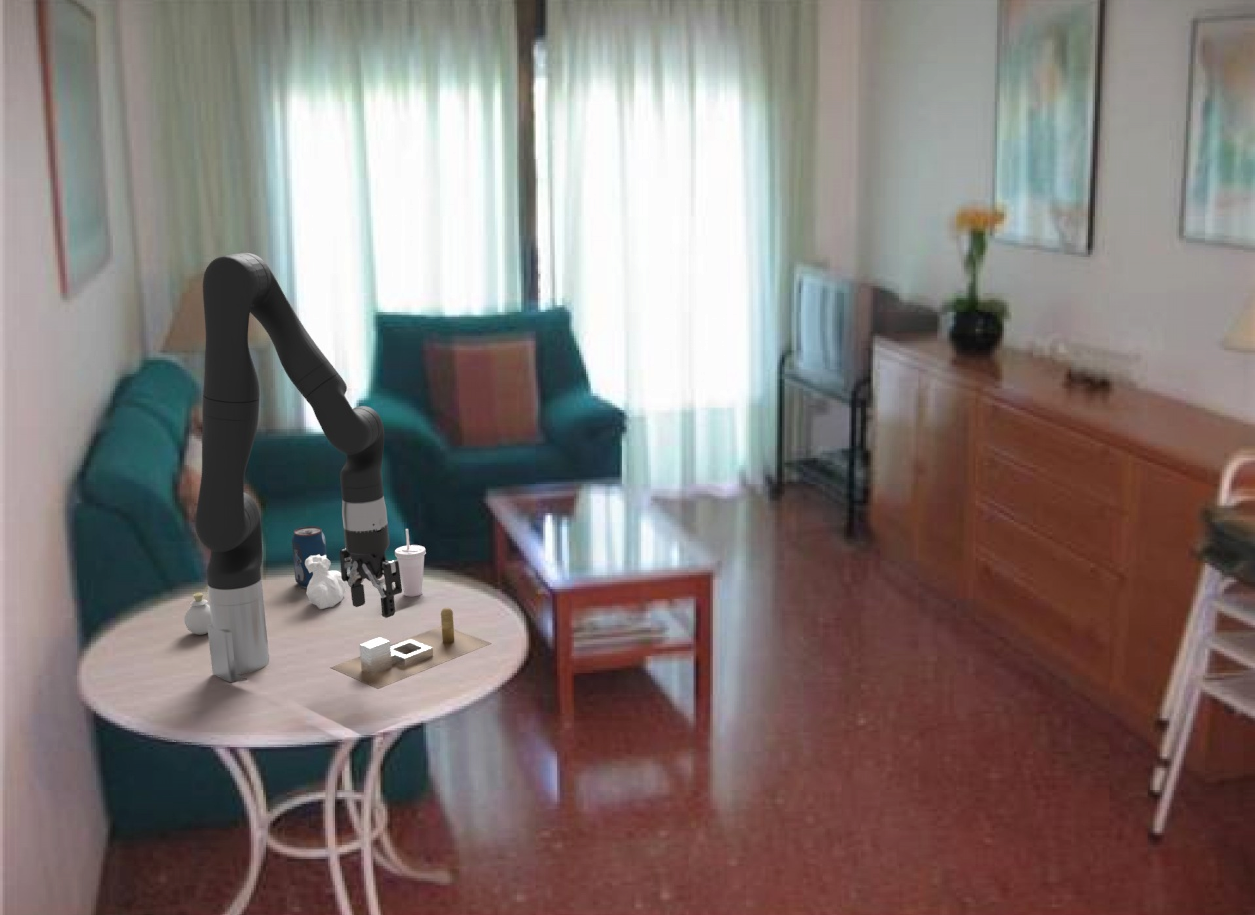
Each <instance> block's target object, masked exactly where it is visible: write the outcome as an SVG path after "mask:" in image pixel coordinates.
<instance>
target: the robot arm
mask: <svg viewBox="0 0 1255 915" xmlns="http://www.w3.org/2000/svg"><path fill="white" fill-rule="evenodd" d="M202 279H203V280H202V299H203V300H202V302H203V310H204V311H203V312H204V324H205V325H204V327H205V349H204V350H205V351H204V376H203V391H202V414H201V416H202V419H201V420H202V430H201V432H202V434H201V435H202V436H201V475H200V476H201V477H200V478H201V479H200V483H199V484H200V485H199V491H198V499H197V505H196V512H195V520H194V527H195V532H196V535H197V538H198V539H199V542H201V543H202V545H204V547H205V548H207V549H208V550H210V557H209V560H208V561H209V562H208V564H207V568H206V582H207V583H206V584H207V589H208V590H207V593H208V599H209V601H208V602H209V605H210V611H211V620H212V623H211V624H209V625H208V626H207V628H208V633H207V635H208V643H209V644H208V646H209V654H210V660H211V661H210V662H211V663H210V664H211V672H212V674H213V675H214V676H215V677H219V678H221V679H222V680H223V681H227V682H228V683H233V682H236V681H244V680H245V681H246V680H248V678H247V677H245V676H242V674H247V673H252V672H256V671H258V670H261V669H262V668H265V667H266V666H267V665H269V663H270V653H269V643H268V642H269V640H268V630H267V621H266V612H265V600H264V591H263V581H262V563H263V558H264V557H263V555H264V552H263V539H262V538H263V536H262V523H261V516H260V515H261V514H260V510H259V508H258V505H257V503H256V502H255V500H254V499H253V498H252V497H251V496H250V495H249V494H248V493H247V492H245V476H246V472H247V471H246V470H247V466H248V462H249V459H250V456H251V453H252V449H253V446H254V442H255V438H256V435H257V430H258V424H259V415H260V414H259V411H260V383H259V377H258V373H257V371H256V369H255V364H254V362H253V360H252V359H253V358H252V356H251V352H250V347H249V323H250V315H252V316H253V317H254V318H255V319H256V320H257V321H258V322H259V323H260V324H261V326H262V327H263V328H264V330H265V332H266V333H267V335H268V336H269V339H270V340H271V343H272V345H273V346H274V348H275V351H276V353H277V357H278V359H279V361H280V363H281V366H282V367H283V370H284V371H285V373H286V375H287V377H288V378H289V380H290V381H291V382H292V384H293V385H294V386H295V388H296V389H297V390H298V391H299V393H300V395H302V396H303V398H304V399H305V400H306V402H307V403H308V404H309V405H310V406H311V408H312V410H313V413H314V415H315V417H316V419H317V421H318V424H319V426H320V429H321V430H322V432H323V434H324V435H325V437H326V439H327V440H328V442H329V443H330V444H331V445H332V447H334V448H335V449H336V450H337V451H339V452H340V453H341V454H345V455H346V462H345V464H344V465H343V467H342V468H341V471H340V476H339V477H340V491H341V499H342V500H341V501H342V506H341V516H342V525H343V534H344V545H345V548H343V549H340V550H339V558H340V559H339V560H340V561H339V562H340V573H341V578H342V580H343V581H346V583H347V585H348V587H349V588H350V593H351V601H352V607H355V608H358V607H361V606H364V605H366V596H365V587H364V586H365V585H364V584H363V582H364V580H366V581H368V582H370V583H371V584H372V587H374V588H376V589H377V591H378V593H379V595H380V607H381V616H382V617H383V618H385V619H388V618H390V617H393V616H394V615H395V613H396V606H395V596H396V595H399V594H401V593H403V585H402V580H401V575H400V570H399V563H398V560H397V559H394V560H388V558H387V557H386V550H387V549H388V548H389V546H390V534H389V533H390V532H389V525H388V524H389V523H388V512H387V506H386V501H385V496H384V486H383V484H384V483H383V476H382V465H383V461H384V460H383V458H384V446H385V430H384V423H383V421H382V419H381V416H380V415H379V413H378V412H377V411H376V410H374V409H373V408H372V407H370V406H365V405H363V406H361V405H360V406H356V407H352V406H351V404H350V403H349V401H348V399H347V397H346V393H347V390H348V387H347V384H346V382H345V380H344V379H343V377H342V376H341V375H340V374H339V372H338V371H337V370H336V368H335V367H334V366H333V364H332V363H331V362H330V361H329V360H328V358H327V357H326V356H325V354H324V353H323V352H322V350H321V349H320V348H319V346H318V345H317V344H316V342H315V341H314V339H313V338H312V337H311V335H310V334H309V333H308V331H307V329H306V327H305V326H304V324H302V322H301V320H300V318H299V317H298V315H297V314H296V312H295V310H294V309H293V307H292V305H291V304H290V302H289V300H288V298H287V297H286V296H285V294H284V291H283V290H282V288H281V286H280V284H279V282H278V280H277V279H276V277H275V275H274V273H273V272H272V270H271V268H270V267H269V266H268V264H267V263H266V261H265V260H263V259H262V258H261V257H260V256H258V255H256V254H254V253H250V252H239V253H238V252H237V253H232V254H226V255H221V256H218V257H216V258H214V259H213V260H212V261H211V262H209V264H208V265H207V267H206V269H205V271H204V274H203V278H202ZM348 569H349V572H348ZM383 576H384V578H382V577H383ZM393 583H394V584H393ZM384 585H385V587H384ZM394 585H395V586H394ZM240 674H241V675H240Z"/></svg>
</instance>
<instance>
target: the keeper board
mask: <svg viewBox="0 0 1255 915" xmlns="http://www.w3.org/2000/svg"><path fill="white" fill-rule="evenodd" d="M440 620H441V622H440V623H441V626H437V627H434V628H432V629H429V630H427V631H425V632H421V633H419V634H417V635H414V636H411V637H409V638H405V639H403V640H401V641H398V642H395V643H392V644H390V647H391V646H393V645H396V644H399V643H401V642H404V641H407V640H409V639H412V640H414V641H417V642H419V643H422V644H425V645H427V646H430V647H432V648H433V656H432V657H429V658H426V659H424V660H421V661H419V662H416V663H414V664H411V665H409V666H406V667H404V666H402V665H399V664H397V663H395V664H393V665H392V667H391V668H389V669H386V670H384V671H381V672H378V673H376V674H373V675H371V674H368V673H366V672H364V671H362V669H361V657H360V656H358V657H355V658H352V659H349V660H347V661H344V662H342V663H339V664H335V665H333V666H331V667H330V669H332V670H334V671H336V672H339V673H341V674H343V675H345V676H347V677H350V678H352V679H355V680H357V681H358V682H359V681H360V682H361V683H364V684H366V685H368V686H371V687H373V688H375V689H377V690H379V689H381V688H384V687H386V686H388V685H391V684H395V683H396V682H399V681H402V680H403V679H406V678H409V677H411V676H415V675H416V674H418V673H422V672H424V671H426V670H428V669H432V668H434V667H437V666H439V665H441V664H443V663H447V662H449V661H452V660H453V659H456V658H459V657H461V656H463V655H467V654H468V653H471V652H475V651H476V650H478V649H481V648H483V647H487V646H489V645H492V642H489V641H487V640H485V639H482V638H479V637H475V636H473V635H472V634H468V633H465V632H463V631H460V630H457V629H455V627H454V612H453V610H452V609H451V608H450V607H444V608H443V609H442V610H441V611H440ZM409 653H412V651H408V652H405V653H403V654H405V655H406V654H409Z"/></svg>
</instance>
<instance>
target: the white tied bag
mask: <svg viewBox="0 0 1255 915" xmlns="http://www.w3.org/2000/svg"><path fill="white" fill-rule="evenodd" d="M326 555H327V554H326ZM326 555H324V556H320V555H319V554H318V555H316V556H315V555H314V556H312V555H311V556H310V557H308V558H307V559H306V560H305V566H306V568H307V569H308V571H309V573H311V572H313V576H312V578H311V580H310V581H309V584H308V586H307V588H306V592H305V595H306V596H307V597H308V602H310V603H311V604H313V605H314V606H316V607H317V608H318V609H320V610H323V609H327V608H333V607H335V605H338V604H339V603H340V602H342V601H343V599H344V595H345V593H346V590H347V581H343V580H342V578H341V571H339V570H329V568H330V566H331V564H332V563H331V562H332V561H331V560H329V559H328V558H326Z"/></svg>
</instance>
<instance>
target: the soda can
mask: <svg viewBox="0 0 1255 915" xmlns="http://www.w3.org/2000/svg"><path fill="white" fill-rule="evenodd" d="M291 546H292V557H293V559H292V560H293V567H294V568H293V569H294V578H295V579H294V580H295V583H297V585H298V586H299V587H301V588H304V589H307V586H308V584H309V581H310V580H311V578H312V576H313V572H311V573H309V571H308V569H307V568H306V566H305V560H306V559H307V558H308V557H310V556H311V555H312V556H314V555H315V556H316V555H318V554H319V555H320V556H324V555H326V558H327V557H328V556H327V546H326V536H325V533H324V532H323V531H322V528H320V527H318V526H304V527H298V528H297V529H295V530H293V536H292V539H291ZM327 559H328V558H327Z"/></svg>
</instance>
